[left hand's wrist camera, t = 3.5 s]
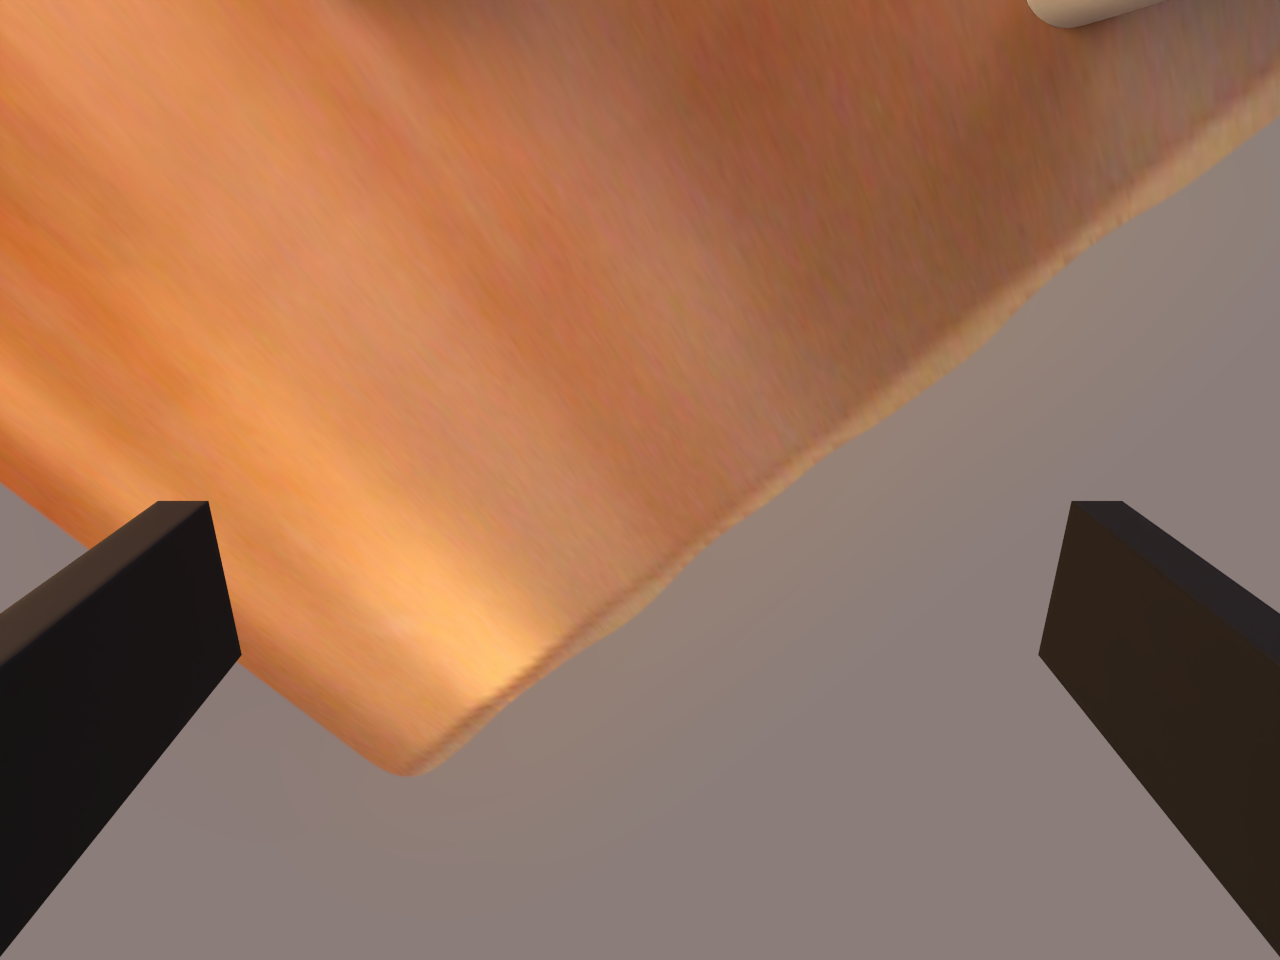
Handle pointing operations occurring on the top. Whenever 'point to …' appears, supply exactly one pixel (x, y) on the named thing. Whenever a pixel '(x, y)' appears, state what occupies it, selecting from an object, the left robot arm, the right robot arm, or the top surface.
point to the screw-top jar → (1084, 10)
